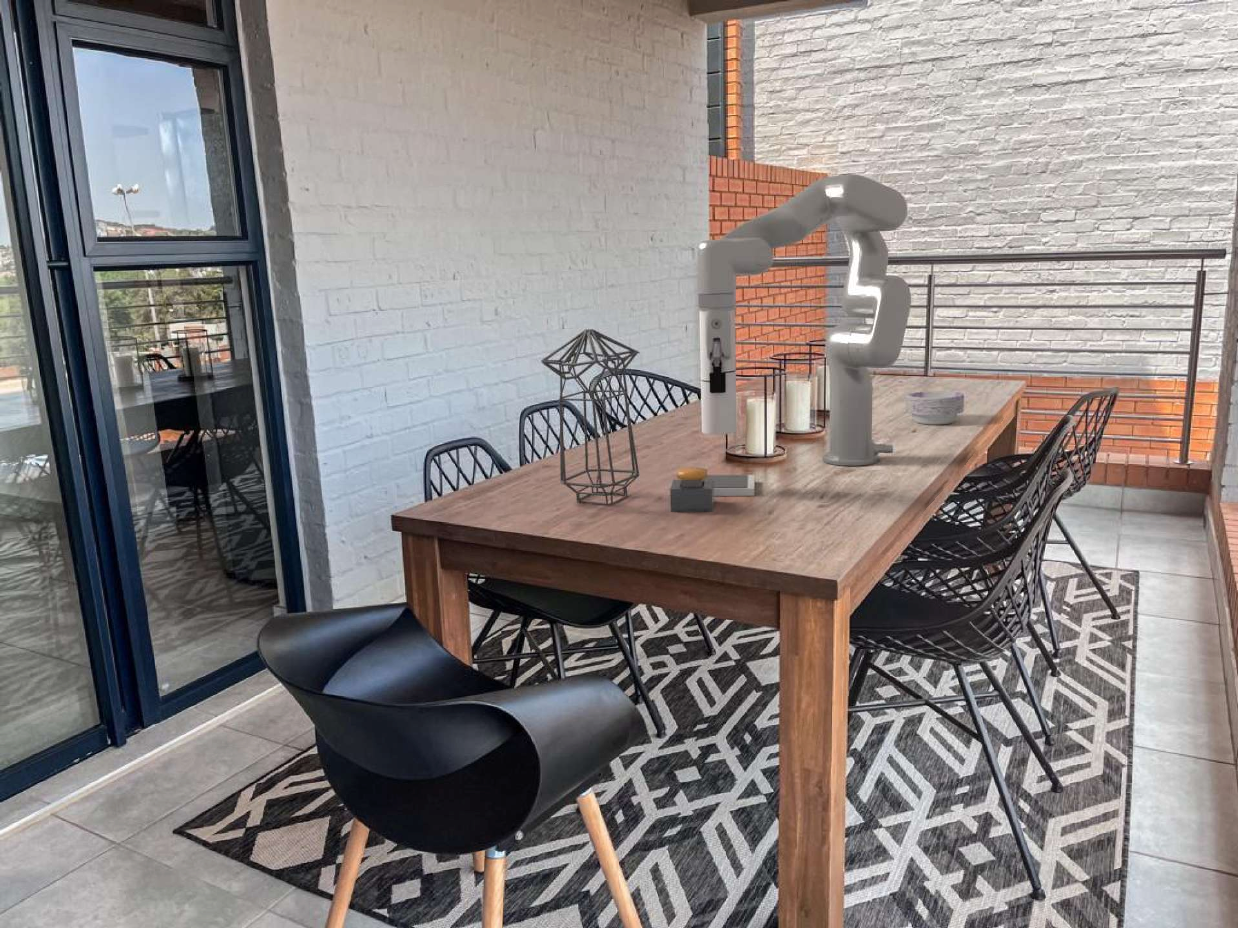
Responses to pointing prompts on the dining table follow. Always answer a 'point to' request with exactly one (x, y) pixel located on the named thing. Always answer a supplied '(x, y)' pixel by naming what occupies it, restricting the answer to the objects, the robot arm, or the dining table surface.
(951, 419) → the paper bowls
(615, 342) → the geometric lantern
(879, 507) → the dining table surface
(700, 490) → the button housing
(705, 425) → the cylindrical container
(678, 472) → the button
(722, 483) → the pallet
